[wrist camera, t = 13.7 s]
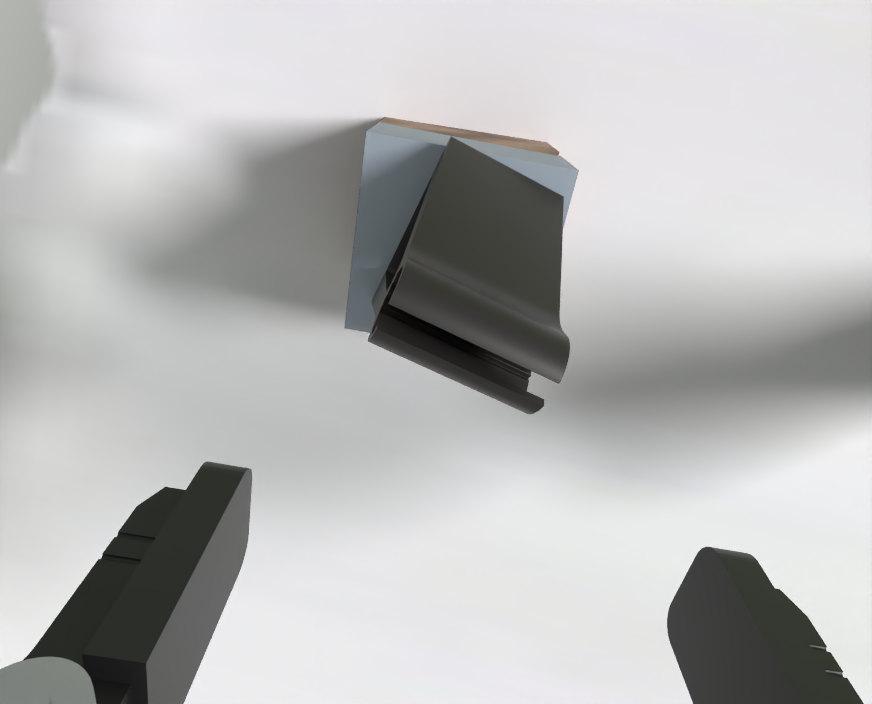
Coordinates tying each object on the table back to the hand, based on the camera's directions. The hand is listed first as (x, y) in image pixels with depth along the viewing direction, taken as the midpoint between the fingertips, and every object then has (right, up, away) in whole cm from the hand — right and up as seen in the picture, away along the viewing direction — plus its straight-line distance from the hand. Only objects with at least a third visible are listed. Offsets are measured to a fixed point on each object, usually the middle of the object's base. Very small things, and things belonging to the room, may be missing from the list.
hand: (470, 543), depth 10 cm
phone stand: (+1, +9, +19) cm, 21 cm away
